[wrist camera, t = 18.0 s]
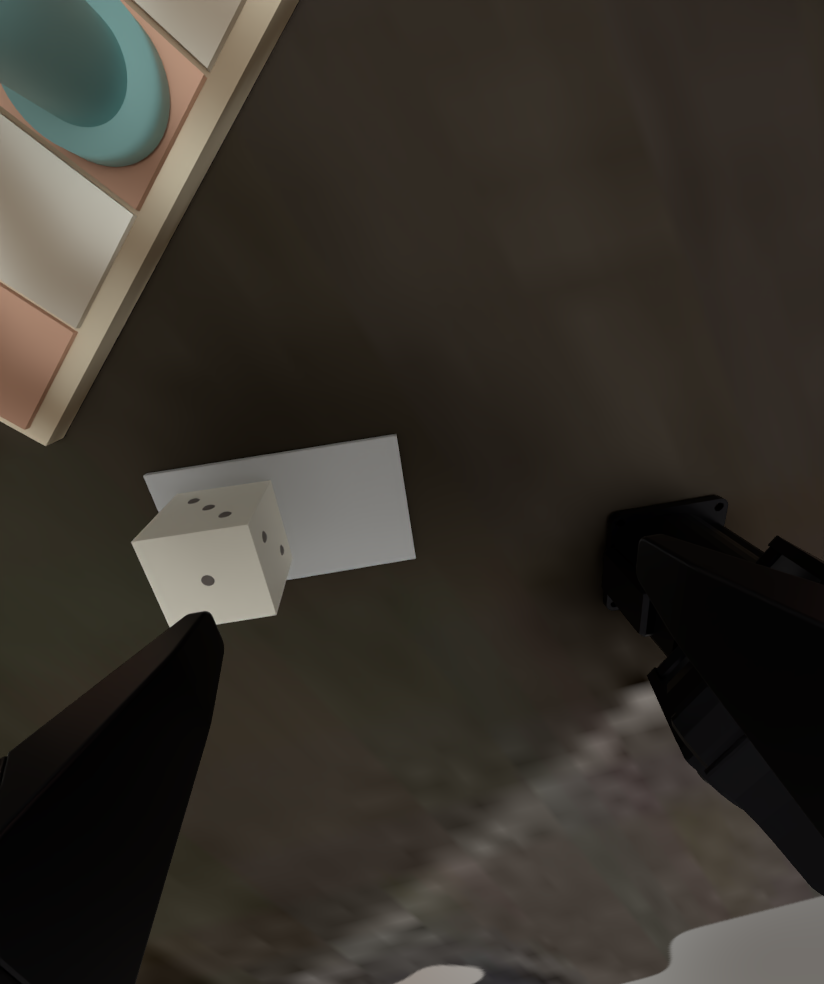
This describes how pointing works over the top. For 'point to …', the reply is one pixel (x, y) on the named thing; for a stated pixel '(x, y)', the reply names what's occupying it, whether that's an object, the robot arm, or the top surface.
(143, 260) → the board
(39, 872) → the robot arm
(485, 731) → the top surface
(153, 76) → the pawn
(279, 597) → the die
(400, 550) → the mat
